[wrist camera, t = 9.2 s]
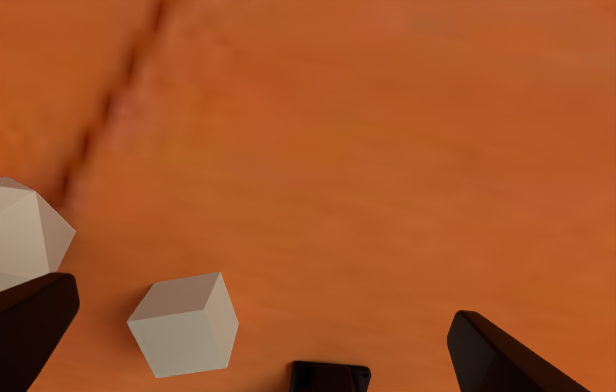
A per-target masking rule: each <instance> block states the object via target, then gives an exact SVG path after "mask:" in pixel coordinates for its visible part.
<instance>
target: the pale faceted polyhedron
mask: <svg viewBox="0 0 616 392" xmlns="http://www.w3.org/2000/svg"><path fill="white" fill-rule="evenodd" d="M75 233H76V231H75V230H74V229H73V228H72V227H71V226H70V225H69V224H68V223H67V222H66V221H65V220H64V219H63V218H62V217H61V216H60V215H59V214H58V213H57V212H56V211H55V210H54V209H53V208H52V207H51V206H50V205H49V204H48V203H47V202H46V201H45V200H44V199H43V198H42V197H41V196H40V195H39V194H38V193H37V192H36V191H34V190H32V189H30V188H28V187H26V186H24V185H22V184H21V183H19V182H17V181H15V180H13V179H11V178H9V177H0V291H3V290H5V289H8V288H11V287H13V286H16V285H19V284H21V283H24V282H27V281H29V280H32V279H35V278H37V277H40V276H43V275H45V274H48V273H51V272H56V271H57V269H58V267H59V265H60V263H61V261H62V259H63V257H64V255H65V253H66V251H67V249H68V247H69V245H70V243H71V241H72V239H73V237H74V235H75Z"/></svg>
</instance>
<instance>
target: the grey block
mask: <svg viewBox="0 0 616 392" xmlns="http://www.w3.org/2000/svg"><path fill="white" fill-rule="evenodd" d="M127 324H128V326H129V328H130V330H131V332H132V334H133V335H134V337H135V339H136V341H137V343H138V345H139V347H140V349H141V351H142V353H143V355H144V356H145V358H146V360H147V362H148V364H149V366H150V368H151V370H152V372H153V374H154V375H155V377H156V378H161V377H168V376H175V375H182V374H189V373H195V372H202V371H209V370H216V369H223V368H227V367H228V363H229V359H230V355H231V352H232V348H233V344H234V340H235V337H236V333H237V329H238V325H239V323H238V320H237V318H236V315H235V312H234V309H233V306H232V304H231V301H230V298H229V295H228V292H227V289H226V287H225V284H224V281H223V278H222V275H221V273H220V272H215V273H209V274H203V275H197V276H191V277H185V278H179V279H173V280H168V281H162V282H156V283H154V284H153V286H152V287H151V288H150V290H149V291H148V293H147V294H146V295H145V297H144V298H143V299H142V301H141V302H140V304H139V305H138V306H137V308H136V309H135V311H134V312H133V313H132V315H131V316H130V318H129V319H128V320H127Z"/></svg>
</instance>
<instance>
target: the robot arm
mask: <svg viewBox="0 0 616 392" xmlns="http://www.w3.org/2000/svg"><path fill="white" fill-rule="evenodd" d="M79 306H80V300H79V295H78V290H77V284H76V279H75V277H74V276H73V275H72V274H70V273H61V272H51V273H48V274H45V275H43V276H40V277H37V278H35V279H32V280H29V281H27V282H24V283H21V284H19V285H16V286H13V287H11V288H8V289H5V290H3V291H0V392H27V390H28V389H29V387H30V386H31V385H32V383H33V382H34V381H35V379H36V378H37V376H38V375H39V373H40V372H41V370H42V369H43V367H44V365H45V364H46V362H47V361H48V359H49V357H50V356H51V354H52V353H53V351H54V349H55V348H56V346H57V345H58V343H59V341H60V340H61V338H62V337H63V335H64V333H65V332H66V330H67V329H68V327H69V325H70V324H71V322H72V321H73V319H74V317H75V316H76V314H77V312H78V310H79ZM447 345H448V349H449V352H450V356H451V359H452V363H453V366H454V370H455V373H456V376H457V380H458V383H459V387H460V390H461V392H590V391H589V390H587V389H586V388H584V387H583V386H582V385H580V384H579V383H577V382H576V381H574V380H573V379H572V378H570V377H569V376H567V375H566V374H564V373H563V372H562V371H560V370H559V369H557V368H556V367H554V366H553V365H552V364H550V363H549V362H547V361H546V360H544V359H543V358H542V357H540V356H539V355H537V354H536V353H534V352H533V351H532V350H530V349H529V348H527V347H526V346H524V345H523V344H522V343H520V342H519V341H517V340H516V339H514V338H513V337H512V336H510V335H509V334H507V333H506V332H505V331H503V330H502V329H500V328H499V327H497V326H496V325H495V324H493V323H492V322H490V321H489V320H487V319H486V318H485V317H483V316H482V315H480V314H479V313H477V312H475V311H466V310H459V311H458V312H457V313H456V314H455V316H454V319H453V322H452V324H451V327H450V330H449V332H448V335H447ZM370 378H371V372H370V369H369V368H368V367H362V366H350V365H338V364H325V363H313V362H301V361H297V362H295V363H293V366H292V374H291V381H290V388H289V392H367V389H368V385H369V381H370Z"/></svg>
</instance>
